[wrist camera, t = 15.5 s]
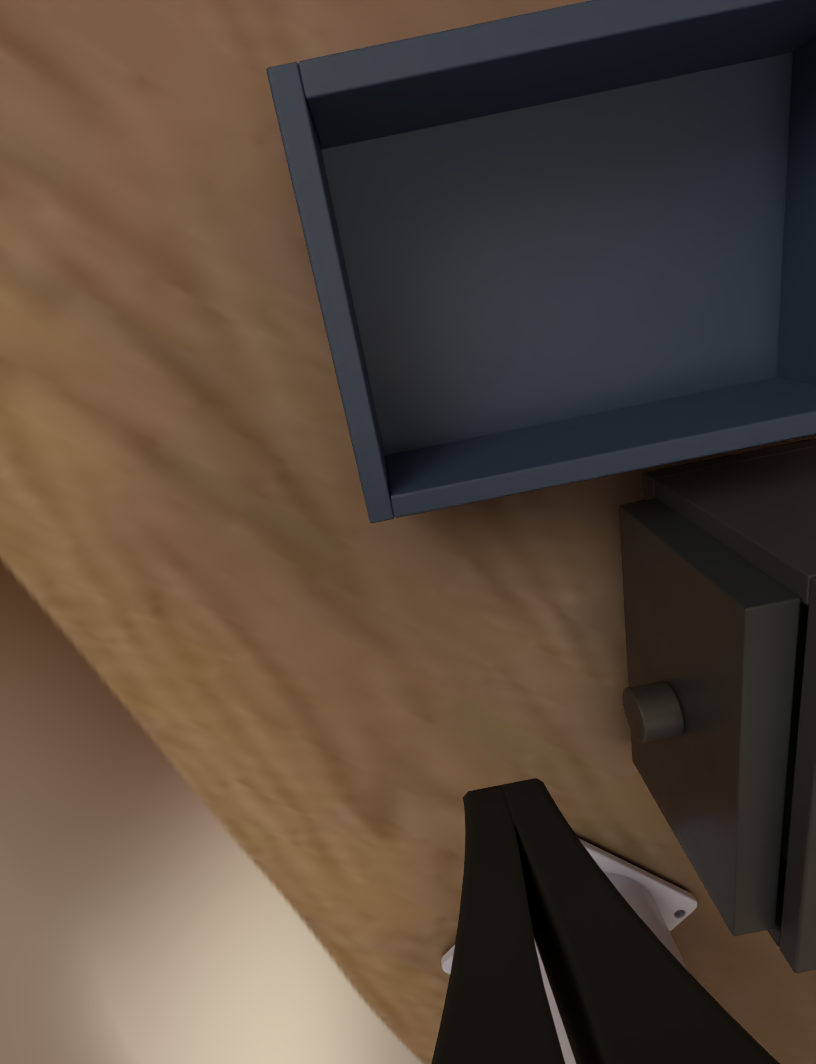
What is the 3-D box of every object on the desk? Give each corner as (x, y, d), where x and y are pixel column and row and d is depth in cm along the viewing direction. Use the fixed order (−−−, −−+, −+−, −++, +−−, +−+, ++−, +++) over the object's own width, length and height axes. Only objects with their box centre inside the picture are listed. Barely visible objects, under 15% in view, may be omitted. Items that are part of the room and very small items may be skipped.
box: (369, 472, 18) (370, 524, 14) (294, 133, 15) (265, 66, 11) (781, 389, 18) (907, 417, 14) (801, 28, 15) (976, -82, 11)
